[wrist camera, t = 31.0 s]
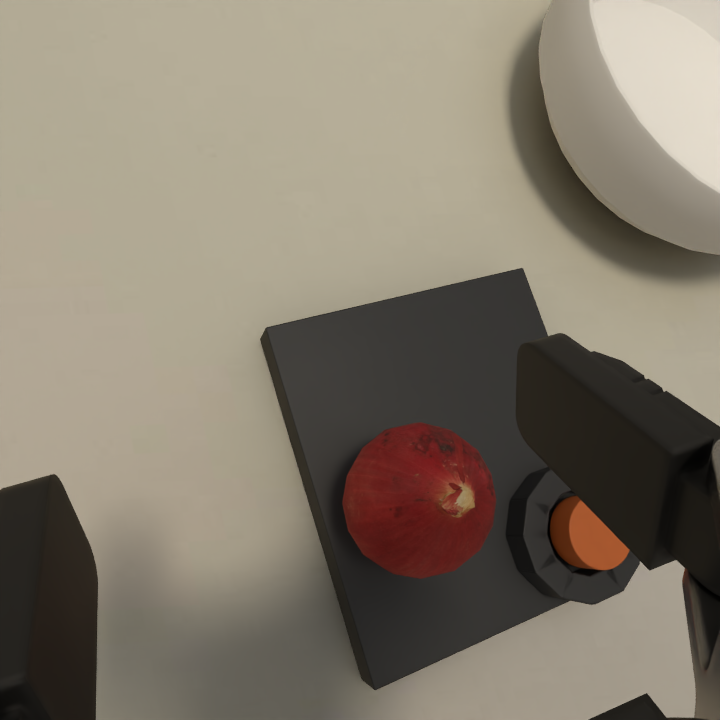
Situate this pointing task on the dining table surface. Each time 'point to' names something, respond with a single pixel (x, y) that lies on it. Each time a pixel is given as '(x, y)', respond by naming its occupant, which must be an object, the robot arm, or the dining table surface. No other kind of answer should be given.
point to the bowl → (640, 109)
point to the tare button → (584, 537)
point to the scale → (442, 409)
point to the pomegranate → (419, 500)
